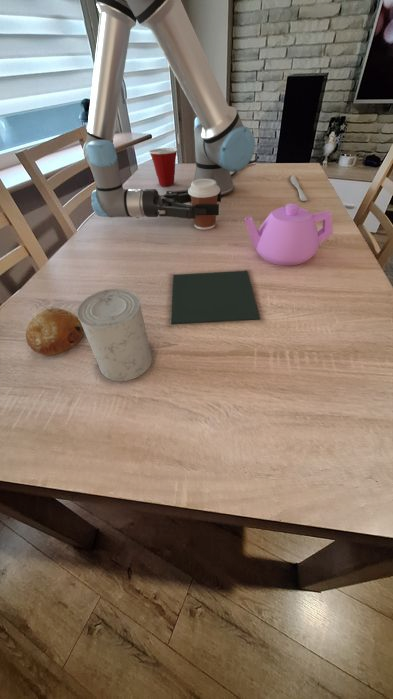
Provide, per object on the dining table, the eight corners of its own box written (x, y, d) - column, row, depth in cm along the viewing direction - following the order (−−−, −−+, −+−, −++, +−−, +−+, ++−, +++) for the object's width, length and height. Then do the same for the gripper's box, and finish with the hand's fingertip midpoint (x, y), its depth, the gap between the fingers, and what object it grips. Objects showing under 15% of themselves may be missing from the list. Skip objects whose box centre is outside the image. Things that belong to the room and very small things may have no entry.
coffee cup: (185, 222, 95) (182, 180, 86) (212, 216, 97) (212, 175, 88) (196, 233, 89) (194, 190, 80) (224, 227, 91) (225, 184, 82)
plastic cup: (182, 179, 124) (179, 144, 116) (178, 188, 117) (175, 152, 108) (156, 179, 125) (151, 145, 117) (150, 188, 118) (145, 153, 109)
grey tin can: (160, 347, 57) (150, 293, 48) (137, 386, 50) (121, 332, 42) (116, 337, 59) (98, 284, 50) (88, 374, 53) (63, 320, 44)
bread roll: (56, 335, 66) (25, 310, 60) (92, 315, 63) (63, 288, 58) (43, 369, 59) (7, 345, 54) (84, 349, 56) (50, 321, 51)
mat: (173, 275, 74) (173, 274, 73) (247, 271, 73) (247, 270, 73) (171, 324, 61) (171, 323, 61) (260, 319, 61) (260, 318, 61)
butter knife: (299, 200, 101) (308, 199, 101) (288, 175, 120) (296, 175, 120) (298, 202, 102) (308, 201, 101) (288, 177, 121) (296, 176, 120)
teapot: (317, 237, 84) (329, 190, 75) (336, 266, 73) (352, 216, 65) (238, 241, 84) (241, 195, 76) (245, 271, 74) (249, 221, 65)
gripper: (154, 202, 100) (221, 202, 98) (138, 231, 85) (217, 232, 83) (150, 177, 95) (222, 176, 93) (132, 204, 80) (217, 203, 78)
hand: (219, 202), depth 88 cm, fingers closed on coffee cup, 9 cm apart
